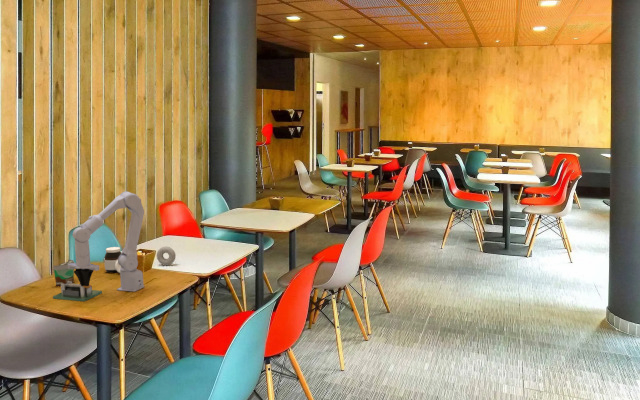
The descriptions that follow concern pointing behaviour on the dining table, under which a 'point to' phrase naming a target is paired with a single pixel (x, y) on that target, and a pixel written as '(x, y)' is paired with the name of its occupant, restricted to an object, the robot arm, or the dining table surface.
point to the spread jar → (112, 259)
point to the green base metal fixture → (76, 293)
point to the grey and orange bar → (76, 285)
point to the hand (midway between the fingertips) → (84, 285)
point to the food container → (63, 273)
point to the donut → (162, 259)
